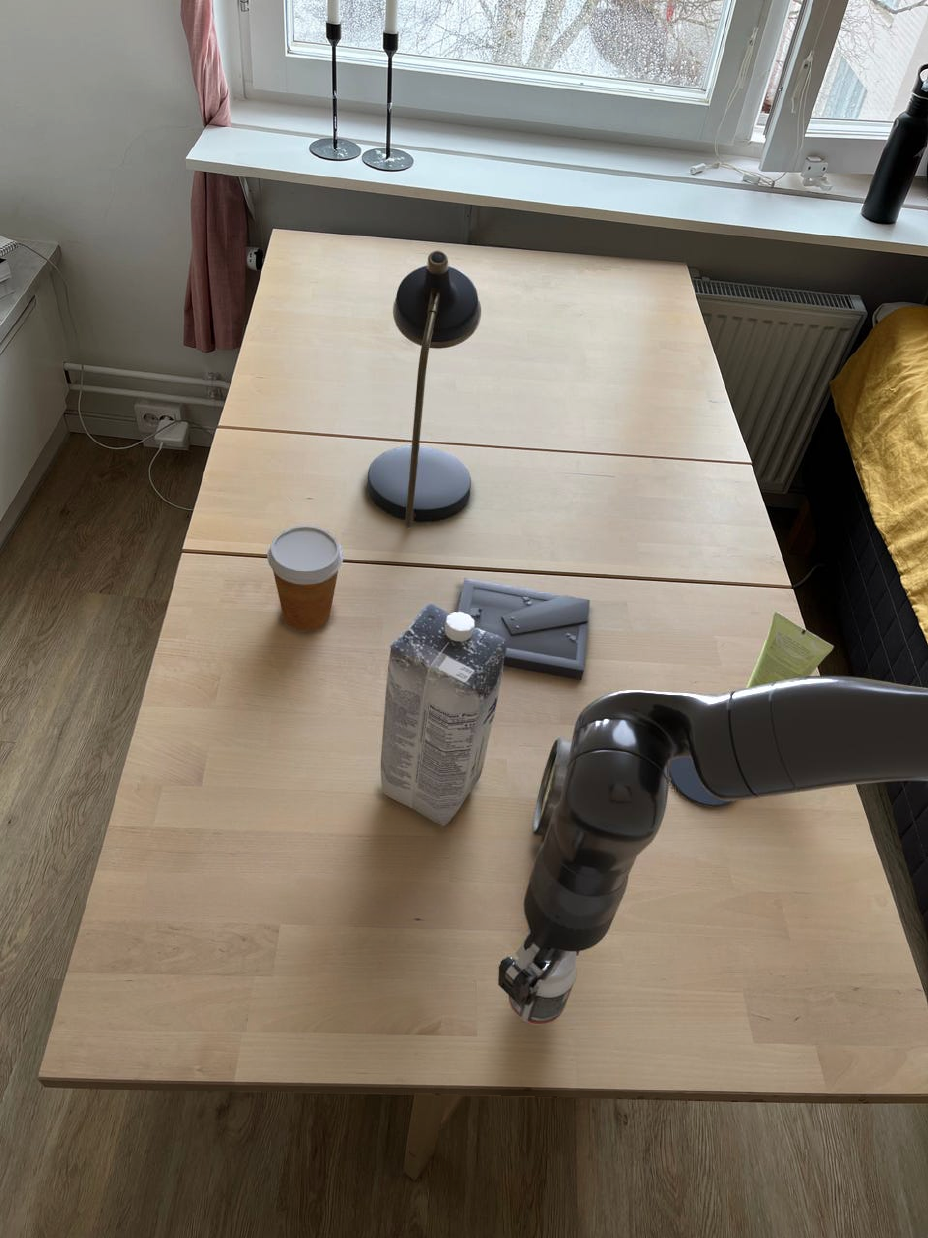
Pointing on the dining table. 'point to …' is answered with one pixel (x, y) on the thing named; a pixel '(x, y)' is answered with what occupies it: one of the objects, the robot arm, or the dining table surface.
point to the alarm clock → (551, 786)
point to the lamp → (418, 475)
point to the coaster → (691, 783)
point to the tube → (788, 653)
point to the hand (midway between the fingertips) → (544, 972)
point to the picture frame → (531, 626)
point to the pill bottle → (549, 994)
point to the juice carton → (439, 711)
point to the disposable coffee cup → (305, 574)
